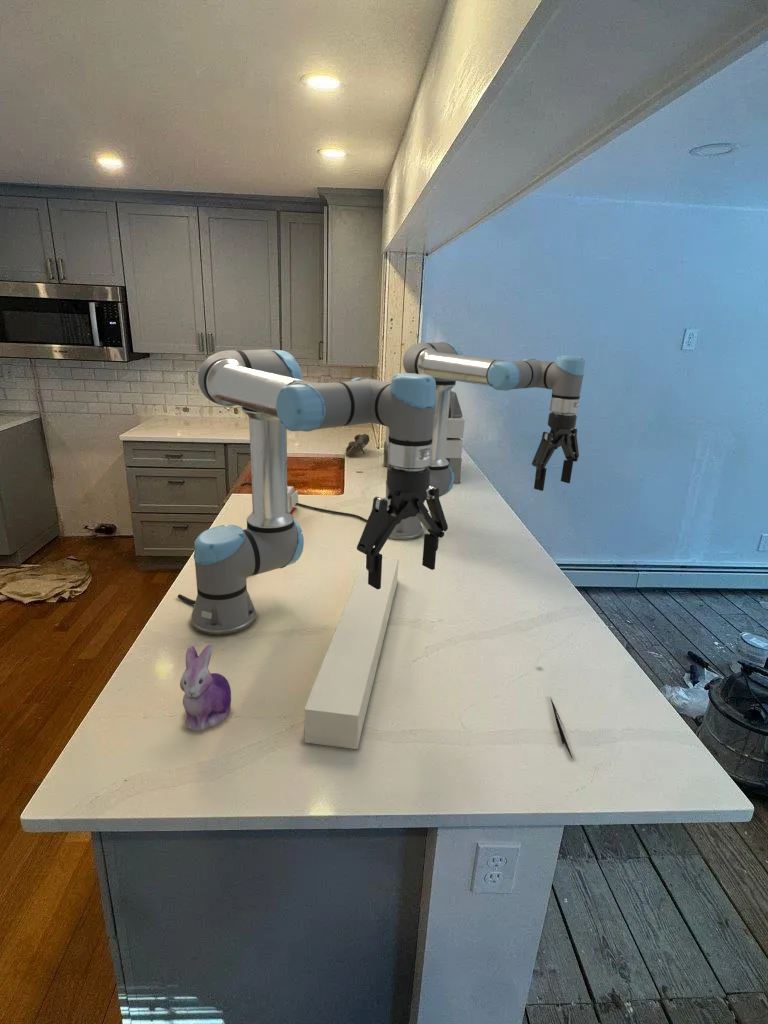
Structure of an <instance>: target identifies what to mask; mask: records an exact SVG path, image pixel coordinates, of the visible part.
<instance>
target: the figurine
mask: <svg viewBox="0 0 768 1024" xmlns="http://www.w3.org/2000/svg"><path fill="white" fill-rule="evenodd" d="M213 649H214V648H213V645H212V644H211V643H208V644H206V646H204V648H203V649H202V651H201V652H200V653H199V655H198V651H197V650H196V647H195V646H194V645H190V646H188V647H187V648H186V652H185V659H184V660H185V669H184V672H183V673H182V675H181V678H180V681H179V687H180V690H181V691H182V692H183V693H184V694H183V697H182V705H183V708H184V711H185V714H186V718H185V722H184V723H185V727H186V728H187V729H189V730H194V731H198V732H199V731H204V730H205V729H207V728H213V727H215V726H217V725H219V724H220V723H221V722H222V721H224V720H225V719H227V717H229V715H230V712H231V705H232V689H231V686H230V683H229V681H228V679H227V678H226V677H225V676H224V675H222V674H221V673H219V672H218V673H217V672H212V673H211V671H210V669H209V665H210V662H211V658H212V654H213Z"/></svg>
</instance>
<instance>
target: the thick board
mask: <svg viewBox="0 0 768 1024" xmlns="http://www.w3.org/2000/svg"><path fill="white" fill-rule="evenodd" d="M398 574H399V558H394V557H383V556H382V573H381V589H378V590H377V589H376V588H374V587H372V586H371V585H369V584H368V570H367V569H366V555H365V556H364V558H363V560H362V563H361V565H360V567H359V570H358V573H357V575H356V578H355V580H354V583H353V585H352V588H351V591H350V592H349V595H348V598H347V600H346V603H345V606H344V608H343V610H342V613H341V616H340V618H339V621H338V623H337V625H336V629H335V631H334V633H333V636H332V638H331V641H330V643H329V646H328V648H327V652H326V654H325V656H324V659H323V661H322V664H321V666H320V669H319V671H318V674H317V677H316V679H315V681H314V683H313V686H312V689H311V692H310V693H309V694H310V695H309V697H308V699H307V702H306V704H305V707H304V743H306V744H313V745H321V746H329V747H337V748H345V749H352V750H358V748H359V745H360V741H361V736H362V731H363V726H364V723H365V718H366V714H367V711H368V706H369V702H370V698H371V693H372V689H373V686H374V681H375V677H376V672H377V668H378V665H379V660H380V656H381V651H382V647H383V644H384V639H385V635H386V632H387V631H386V630H387V628H388V627H387V626H388V622H389V618H390V614H391V610H392V606H393V601H394V597H395V594H396V593H395V592H396V588H397V584H398V576H399V575H398Z"/></svg>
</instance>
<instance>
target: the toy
mask: <svg viewBox="0 0 768 1024" xmlns="http://www.w3.org/2000/svg"><path fill="white" fill-rule="evenodd" d="M287 492H288V512H289V513H290V514H291V515H292V516H293V514H294V512H295V510H296V508H297V507H296V506H295V505H296V503H299V490H298V489H297V490H295V491H294V486H293V485H287Z"/></svg>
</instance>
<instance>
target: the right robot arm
mask: <svg viewBox="0 0 768 1024" xmlns="http://www.w3.org/2000/svg"><path fill="white" fill-rule="evenodd" d="M585 365H586V360H585V358H584V357H582V356H578V355H566V354H565V355H564V354H563V355H558V356H557V357H556V360H555V361H549V360H541V359H536V358H524V359H521V360H506V359H505V360H504V359H503V360H502V359H496V358H487V357H479V356H471V355H464V354H463V352H462V350H461V349H460V347H459V346H457V345H456V344H455V343H451V342H445V341H443V342H442V341H441V342H440V341H439V342H438V341H437V342H417V343H414V344H412V345H411V346H409V347H408V348H407V350H406V351H405V353H404V355H403V358H402V366H403V369H404V372H405V373H415V374H424V375H429V376H432V377H433V378H434V379H435V382H436V406H435V415H434V426H433V440H432V453H431V464H430V465H429V466H428V467H429V469H430V484H429V485H430V486H433V487H436V488H438V489H439V498H440V497H443V496H446V495H448V493H450V492H451V490H452V489H453V488H454V487H453V486H454V484H455V483H454V473H452V469H451V467H450V466H449V462H448V461H447V459H446V458H445V453H446V441H447V428H448V416H449V404H450V392H451V391H452V389H453V388H454V387H455V386H456V384H457V382H461V383H465V384H473V385H479V386H487V387H491V388H492V389H494V390H496V391H503V392H504V391H511V390H520V389H532V388H533V389H534V388H539V389H546V390H551V398H550V404H549V413H548V418H547V419H548V420H547V426H548V427H549V428H550V431H549V432H548V431H543V432H542V435H541V440H540V442H539V445H538V447H537V449H536V452H535V454H534V457H533V460H532V461H531V466H533V467H535V475H534V477H535V478H534V485H533V489H534V490H537V491H539V492H543V491H544V489H545V484H546V483H545V482H546V476H547V468H546V466H547V465H548V463H549V461H550V459H551V457H552V456H553V454H554V453H555V451H556V450H557V449H558V448H560V447H561V449H562V452H563V455H564V458H565V459H563V463H562V468H561V469H562V470H561V475H560V482H562V483H566V484H571V478H572V472H573V466H574V463H576V462H578V461H579V457H580V453H579V444H578V428H576V423H577V419H578V416H577V414H578V412H579V411H578V410H579V406H580V397H581V391H582V385H583V380H584V376H585ZM244 486H250V487H252V482H244V483H241V484H240V487H244ZM388 494H389V489H388V486H387V479H385V498H387V497H388ZM425 501H426V499H425ZM295 505H296V506H299V507H303V508H306V509H310V510H314V511H319V512H325V513H330V514H335V515H341V516H347V517H348V516H349V517H352V518H356V519H360V520H361V521H363V522H366V523H367V521H368V518H364V517H362V516H360V515H358V514H354V513H349V512H342V511H336V510H331V509H325V508H320V507H316V506H311V505H308V504H304V503H299V502H297V503H296V504H295ZM391 515H392V516H395V515H394V514H393V512H392V514H391ZM422 535H423V524H422V523H421V521H420V520H419V518H418V517H417V516H414V517H408V518H407V519H402V520H401V522H400V523H399V524H397V525H396V526H395V528H394V529H393V531H392V533H391V534H390V536H389V537H388V539H389V540H395V541H410V540H415V539H418V538H420V537H421V536H422Z"/></svg>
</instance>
